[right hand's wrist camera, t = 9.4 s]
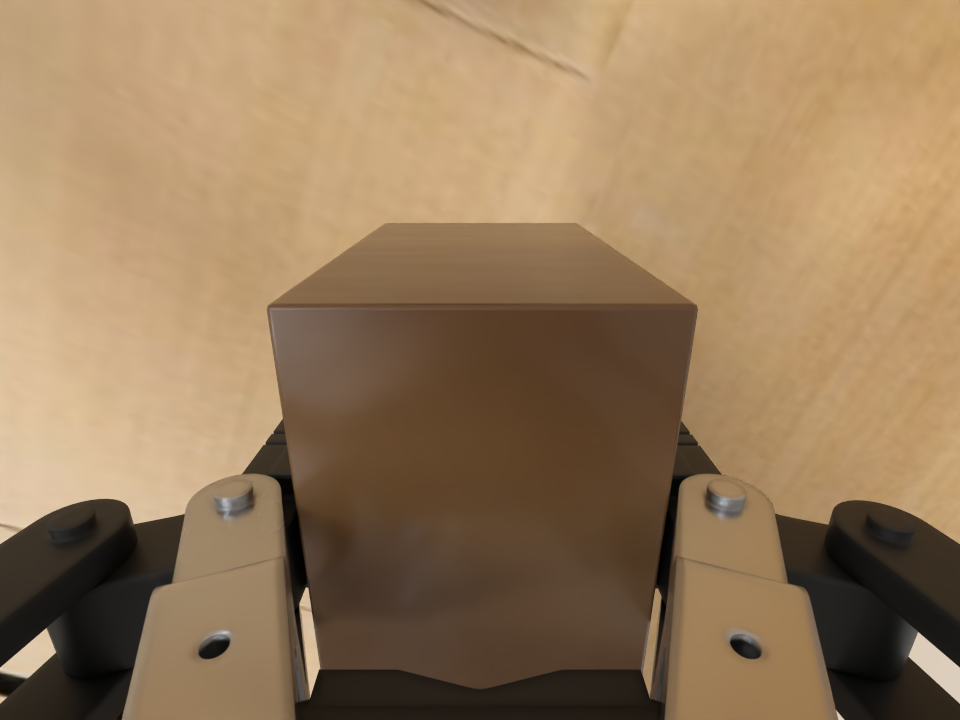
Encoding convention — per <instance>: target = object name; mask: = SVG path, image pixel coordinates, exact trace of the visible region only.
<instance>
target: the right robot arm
mask: <svg viewBox="0 0 960 720" xmlns="http://www.w3.org/2000/svg"><path fill="white" fill-rule="evenodd" d="M306 587H308V581H307V575H306V568H305V561H304V555H303V548H302V541H301V535H300V528H299V521H298V514H297V508H296V501H295V494H294V488H293V481H292V474H291V468H290V461H289V454H288V448H287V441H286V434H285V428H284V421H283V420H282V421H281V422H280V424H279V425H278V426H277V428H276V429H275V430H274V434H272V435H271V436H270V437H269V439H268V440H267V441H266V445H263V447H262V448H261V449H260V451H259V452H258V453H257V455H256V456H255V457H254V459H253V460H252V461H251V463H250V464H249V466H248V467H247V468H246V470H245V471H244V472H243V474H242V475H235V476H231V477H227V478H224V479H221V480H219V481H216V482H214V483H212V484H210V485H208V486H206V487H204V488H203V489H201V490H200V491H199V492H197V493H196V494H195V495H194V496H193V497H192V498H191V499H190V501H189V503H188V505H187V507H186V512H185V514H183V515H179V516H175V517H169V518H164V519H159V520H154V521H149V522H144V523H139V524H133V520H132V517H131V513H130V510H129V508H128V506H127V505H126V504H125V503H123V502H121V501H118V500H114V499H96V500H89V501H84V502H80V503H76V504H72V505H69V506H66V507H64V508H61V509H59V510H56V511H54V512H52V513H50V514H48V515H46V516H44V517H42V518H40V519H39V520H37V521H35V522H34V523H32V524H31V525H29V526H28V527H26V528H25V529H23V530H22V531H20V532H18V533H17V534H15V535H14V536H12V537H11V538H9V539H8V540H6V541H5V542H3V543H2V544H0V667H1V666H2V665H4V664H5V663H6V662H7V661H8V660H9V659H11V658H12V657H13V656H14V655H15V654H16V653H18V652H19V651H20V650H21V649H22V648H23V647H25V646H26V645H27V644H28V643H29V642H30V641H32V640H33V639H34V638H35V637H36V636H37V635H39V634H40V633H41V632H42V631H43V630H45V629H46V628H47V630H48V633H49V635H50V638H51V640H52V643H53V645H54V648H55V650H56V653H55V654H54V655H53V656H52V657H51V658H50V659H49V660H48V661H47V662H45V663H44V664H43V665H42V666H41V667H40V668H39V669H38V670H37V671H36V672H35V673H33V674H32V675H31V676H30V677H29V678H28V679H27V680H26V681H25V682H24V683H22V684H21V685H20V686H19V687H18V688H17V689H16V690H15V691H14V692H13V693H12V694H10V695H9V696H8V697H7V698H6V699H5V700H4V701H3V702H2V703H1V704H0V720H116V718H117V717H118V716H119V715H120V714H121V713H122V711H123V710H124V713H123V717H122V720H838V717H837V713H836V710H837V711H838V713H839V714H840V715H841V716H842V717H843V718H844V720H960V704H959V703H958V702H957V701H956V700H955V699H954V698H953V697H952V696H951V695H950V694H948V693H947V692H946V691H945V690H944V689H943V688H942V687H941V686H940V685H939V684H937V683H936V682H935V681H934V680H933V679H932V678H931V677H930V676H929V675H928V674H927V673H925V672H924V671H923V670H922V669H921V668H920V667H919V666H918V665H917V664H916V663H915V662H913V661H912V660H911V659H910V658H909V657H908V656H909V653H910V651H911V648H912V646H913V643H914V641H915V638H916V636H917V633H918V632H919V633H920V634H921V635H923V636H924V637H925V638H926V639H927V640H928V641H930V642H931V643H932V644H933V645H934V646H936V647H937V648H938V649H939V650H940V651H941V652H942V653H944V654H945V655H946V656H947V657H948V658H950V659H951V660H952V661H953V662H954V663H955V664H957V665H958V666H959V667H960V544H959V543H957V542H955V541H954V540H952V539H951V538H949V537H948V536H946V535H945V534H943V533H942V532H940V531H938V530H937V529H935V528H934V527H932V526H931V525H929V524H928V523H926V522H924V521H923V520H921V519H919V518H918V517H916V516H914V515H912V514H910V513H907V512H905V511H902V510H900V509H897V508H894V507H891V506H888V505H884V504H881V503H876V502H870V501H860V500H853V501H846V502H842V503H840V504H838V505H837V506H835V507H834V509H833V512H832V515H831V518H830V522H829V525H826V524H821V523H816V522H811V521H806V520H801V519H795V518H790V517H786V516H782V515H778V514H775V512H774V507H773V505H772V503H771V501H770V499H769V498H768V497H767V496H766V495H765V494H764V493H763V492H761V491H760V490H759V489H757V488H756V487H754V486H752V485H750V484H748V483H746V482H744V481H741V480H739V479H736V478H733V477H729V476H725V475H722V474H721V473H720V472H719V470H718V469H717V468H716V466H715V465H714V464H713V462H712V461H711V460H710V458H709V457H708V456H707V455H706V453H705V452H704V451H703V449H702V448H701V447H700V446H698V443H697V441H696V440H695V439H694V437H693V436H692V435H690V432H689V431H688V429H687V428H686V427H685V425H684V424H683V423H682V421H681V423H680V429H679V436H678V443H677V449H676V456H675V462H674V469H673V475H672V482H671V489H670V495H669V502H668V508H667V515H666V521H665V528H664V535H663V541H662V548H661V554H660V561H659V567H658V574H657V581H656V587H655V588H658V589H659V591H660V594H661V596H662V598H661V604H660V610H659V616H658V626H657V636H656V645H655V655H654V665H653V674H652V684H651V694H650V698H649V694H648V691H647V688H646V685H645V682H644V678H643V675H642V672H641V669H562V670H558V671H554V672H550V673H546V674H542V675H538V676H534V677H530V678H526V679H522V680H518V681H514V682H510V683H506V684H502V685H499V686H495V687H491V688H485V689H475V688H469V687H465V686H461V685H458V684H454V683H450V682H446V681H442V680H438V679H434V678H430V677H426V676H422V675H418V674H414V673H410V672H406V671H402V670H398V669H319V672H318V675H317V678H316V682H315V685H314V688H313V691H312V694H311V698H310V694H309V684H308V674H307V665H306V655H305V645H304V636H303V626H302V616H301V610H300V604H299V603H300V600H301V598H302V595H303V593H304V590H305V588H306Z"/></svg>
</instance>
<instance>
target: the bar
mask: <svg viewBox="0 0 960 720" xmlns="http://www.w3.org/2000/svg"><path fill="white" fill-rule="evenodd" d="M697 311H698V308H697V305H696V304H694V303H693V302H691V301H690V300H688V299H687V298H685V297H684V296H683V295H681V294H680V293H678V292H677V291H675V290H674V289H672V288H671V287H669V286H668V285H666V284H665V283H664V282H662V281H661V280H659V279H658V278H656V277H655V276H653V275H652V274H650V273H649V272H647V271H646V270H644V269H643V268H642V267H640V266H639V265H637V264H636V263H634V262H633V261H631V260H630V259H628V258H627V257H625V256H624V255H623V254H621V253H620V252H618V251H617V250H615V249H614V248H612V247H611V246H609V245H608V244H606V243H605V242H603V241H602V240H601V239H599V238H598V237H596V236H595V235H593V234H592V233H590V232H589V231H587V230H586V229H584V228H583V227H582V226H580V225H579V224H577V223H385V224H383V225H382V226H381V227H379V228H378V229H376V230H375V231H373V232H372V233H371V234H369V235H368V236H366V237H365V238H363V239H362V240H361V241H359V242H358V243H356V244H355V245H353V246H352V247H351V248H349V249H348V250H346V251H345V252H343V253H342V254H341V255H339V256H338V257H336V258H335V259H333V260H332V261H331V262H329V263H328V264H326V265H325V266H323V267H322V268H321V269H319V270H318V271H316V272H315V273H313V274H312V275H311V276H309V277H308V278H306V279H305V280H303V281H302V282H300V283H299V284H298V285H296V286H295V287H293V288H292V289H290V290H289V291H288V292H286V293H285V294H283V295H282V296H280V297H279V298H278V299H276V300H275V301H273V302H272V303H270V304H269V305H268V307H267V314H268V320H269V327H270V334H271V341H272V347H273V354H274V361H275V367H276V374H277V381H278V387H279V394H280V401H281V407H282V414H283V421H284V428H285V434H286V441H287V448H288V454H289V461H290V468H291V474H292V481H293V488H294V494H295V501H296V508H297V514H298V521H299V528H300V535H301V541H302V548H303V555H304V561H305V568H306V575H307V581H308V588H309V595H310V601H311V608H312V615H313V622H314V628H315V635H316V642H317V648H318V655H319V662H320V668H321V669H398V670H402V671H406V672H410V673H414V674H418V675H422V676H426V677H430V678H434V679H438V680H442V681H446V682H450V683H454V684H458V685H461V686H465V687H469V688H475V689H485V688H491V687H495V686H499V685H502V684H506V683H510V682H514V681H518V680H522V679H526V678H530V677H534V676H538V675H542V674H546V673H550V672H554V671H558V670H562V669H641V672H643V666H644V659H645V653H646V646H647V640H648V633H649V626H650V620H651V613H652V607H653V600H654V594H655V587H656V581H657V574H658V567H659V561H660V554H661V548H662V541H663V535H664V528H665V521H666V515H667V508H668V502H669V495H670V489H671V482H672V475H673V469H674V462H675V456H676V449H677V443H678V436H679V429H680V423H681V416H682V410H683V403H684V397H685V390H686V384H687V377H688V370H689V364H690V357H691V351H692V344H693V338H694V331H695V324H696V318H697Z"/></svg>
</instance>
